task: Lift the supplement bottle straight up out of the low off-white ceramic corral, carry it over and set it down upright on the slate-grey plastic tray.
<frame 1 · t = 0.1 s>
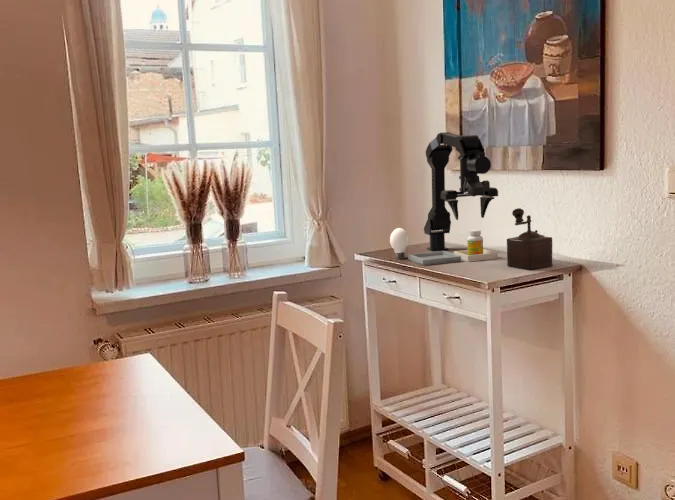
hand: (469, 218, 233), 14 cm above the table, fingers open, 9 cm apart
tray: (433, 260, 240), on the table
corral: (475, 257, 240), on the table
supplement bottle: (475, 258, 240), resting in corral
light bulb: (400, 258, 248), on the table
manual coffee grinder: (524, 265, 222), on the table
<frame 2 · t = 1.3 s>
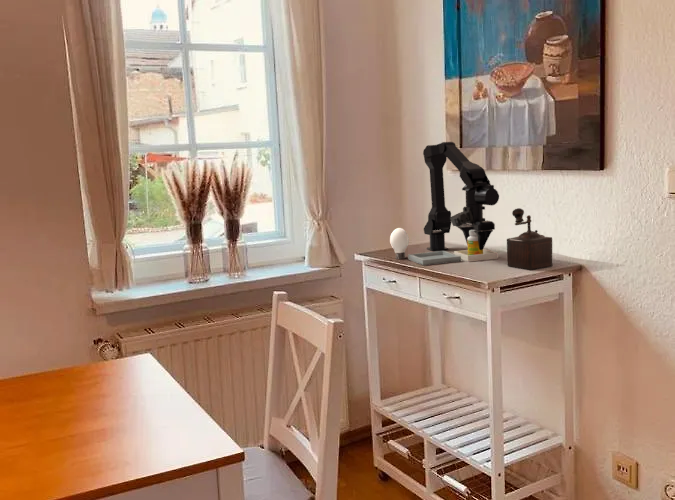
hand: (475, 248, 240), 3 cm above the table, fingers open, 9 cm apart
nothing on the table moved.
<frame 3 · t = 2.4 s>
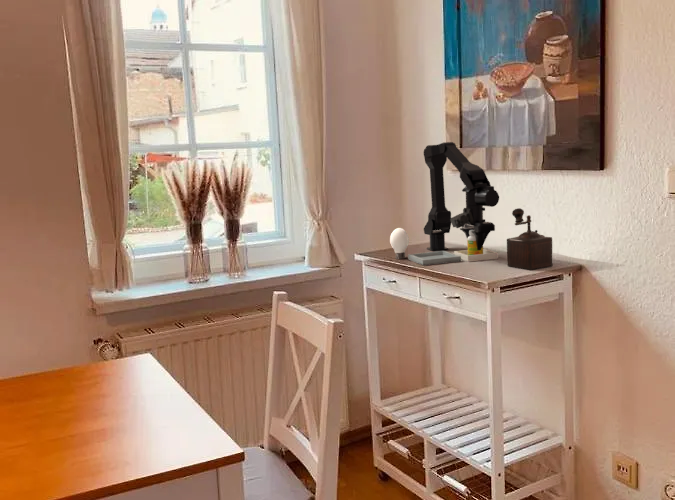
hand: (475, 249, 240), 3 cm above the table, fingers closed on supplement bottle, 5 cm apart
supplement bottle: (475, 258, 240), resting in corral, touching gripper
everything else where it was.
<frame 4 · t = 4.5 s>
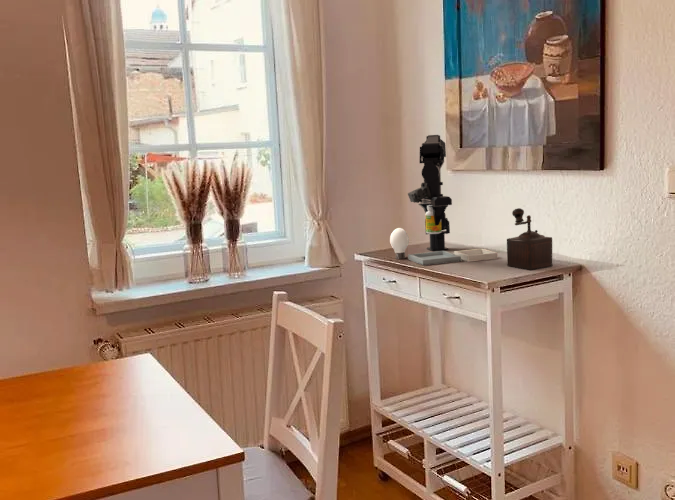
hand: (433, 224, 238), 13 cm above the table, fingers closed on supplement bottle, 5 cm apart
supplement bottle: (433, 233, 238), point 9 cm above the table, touching gripper
everything else where it was.
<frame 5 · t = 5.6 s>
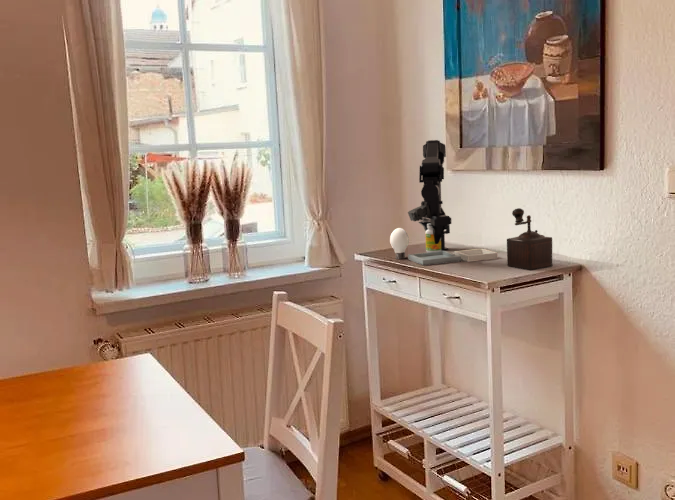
hand: (433, 242, 239), 6 cm above the table, fingers closed on supplement bottle, 5 cm apart
supplement bottle: (433, 251, 239), point 3 cm above the table, touching gripper
everything else where it was.
when the fingers open (5 cm above the table, at t = 6.7 s): supplement bottle drops 1 cm, resting on tray.
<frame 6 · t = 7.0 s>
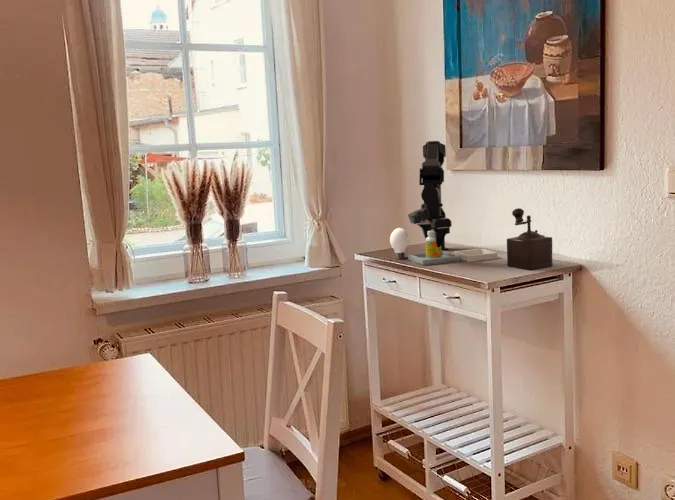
hand: (433, 245, 239), 5 cm above the table, fingers open, 9 cm apart
supplement bottle: (433, 259, 240), resting on tray
everything else where it was.
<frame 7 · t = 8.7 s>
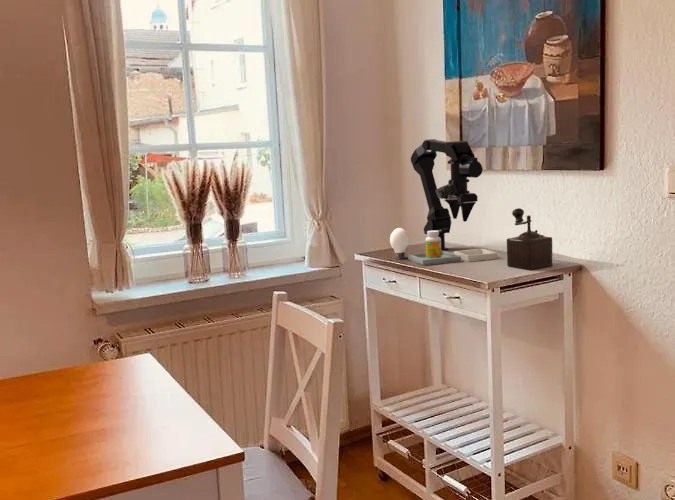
hand: (459, 220, 246), 13 cm above the table, fingers open, 9 cm apart
nothing on the table moved.
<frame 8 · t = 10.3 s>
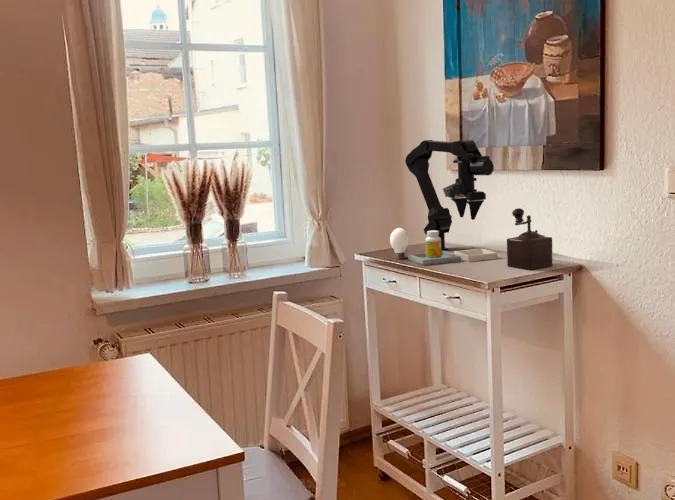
hand: (467, 218, 248), 13 cm above the table, fingers open, 9 cm apart
nothing on the table moved.
at the end: supplement bottle inside the target area on the tray (0.1 cm from its centre), point 0.4 cm above the tray's base; supplement bottle tilted 0°; the gripper is holding nothing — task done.
